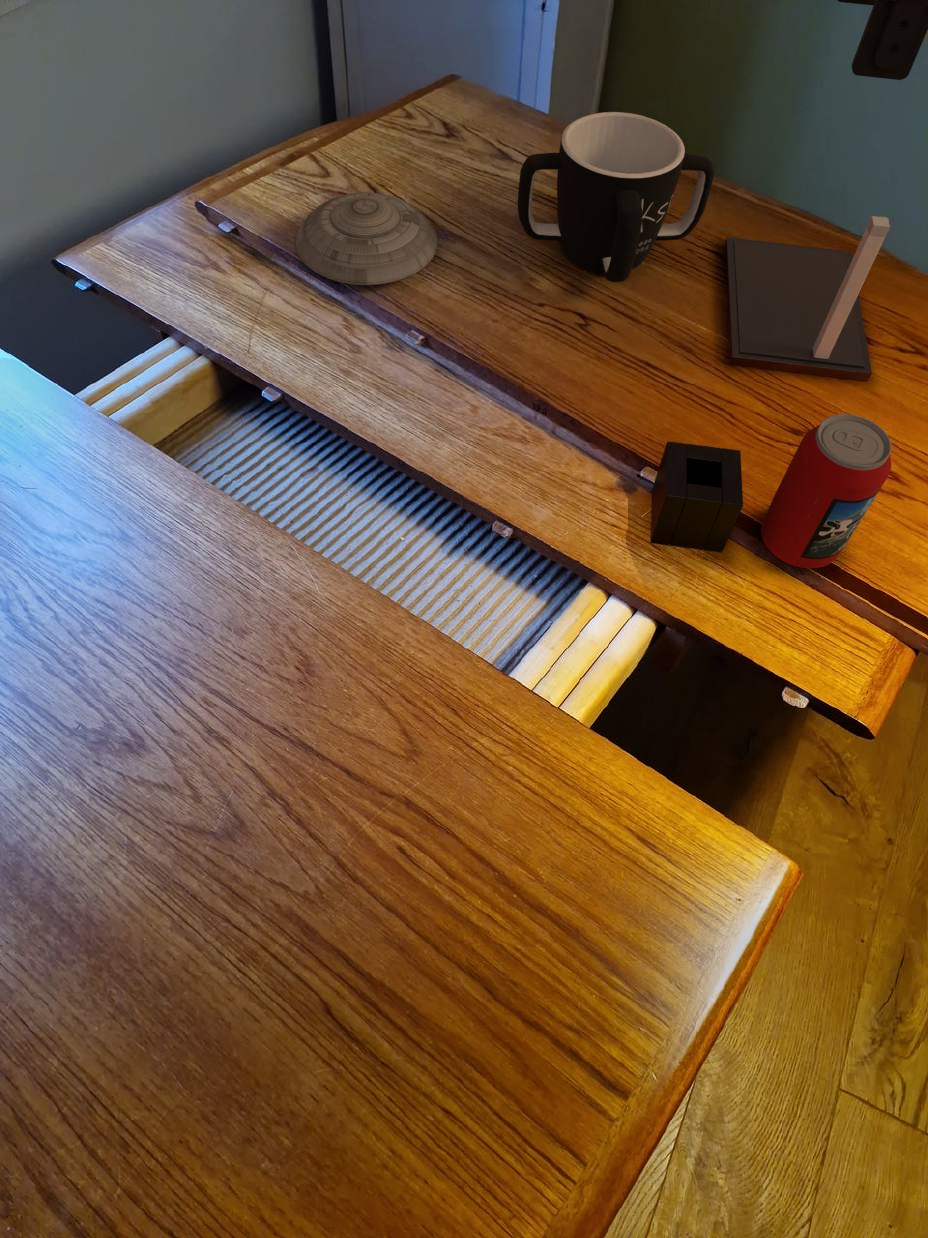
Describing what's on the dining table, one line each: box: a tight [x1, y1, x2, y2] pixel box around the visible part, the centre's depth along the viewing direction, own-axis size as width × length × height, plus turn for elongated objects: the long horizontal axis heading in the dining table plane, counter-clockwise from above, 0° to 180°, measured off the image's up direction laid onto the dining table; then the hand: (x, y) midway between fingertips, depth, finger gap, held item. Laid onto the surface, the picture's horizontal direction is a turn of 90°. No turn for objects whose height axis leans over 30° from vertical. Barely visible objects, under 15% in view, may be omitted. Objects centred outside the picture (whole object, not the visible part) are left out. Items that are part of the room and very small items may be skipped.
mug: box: [517, 111, 715, 283], centre depth 92 cm, size 16×16×12 cm
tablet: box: [723, 236, 873, 382], centre depth 92 cm, size 14×20×1 cm
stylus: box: [813, 215, 891, 359], centre depth 81 cm, size 1×1×14 cm
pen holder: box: [649, 440, 744, 554], centre depth 74 cm, size 6×6×6 cm
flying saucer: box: [294, 191, 439, 286], centre depth 93 cm, size 15×15×6 cm
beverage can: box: [760, 413, 892, 569], centre depth 70 cm, size 7×7×12 cm
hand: (868, 36), depth 55 cm, fingers open, 9 cm apart
